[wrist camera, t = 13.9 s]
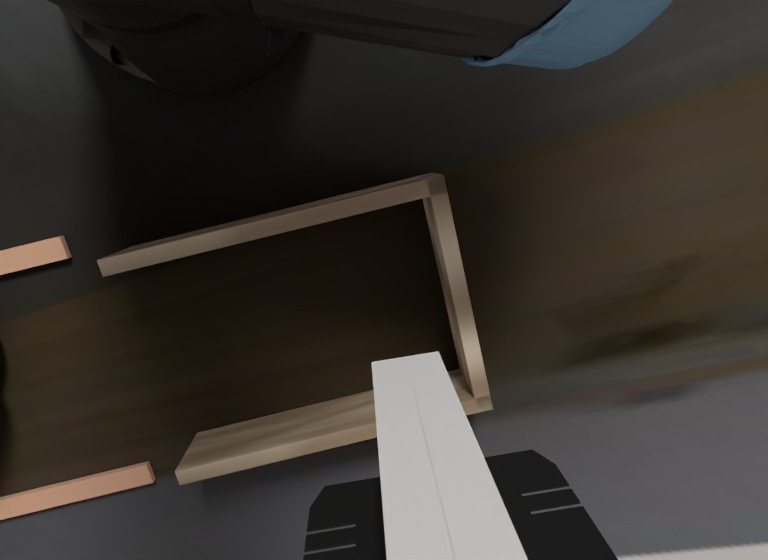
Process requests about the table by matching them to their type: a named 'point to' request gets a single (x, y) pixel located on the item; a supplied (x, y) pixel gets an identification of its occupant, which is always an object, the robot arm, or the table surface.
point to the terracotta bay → (81, 486)
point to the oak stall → (342, 415)
